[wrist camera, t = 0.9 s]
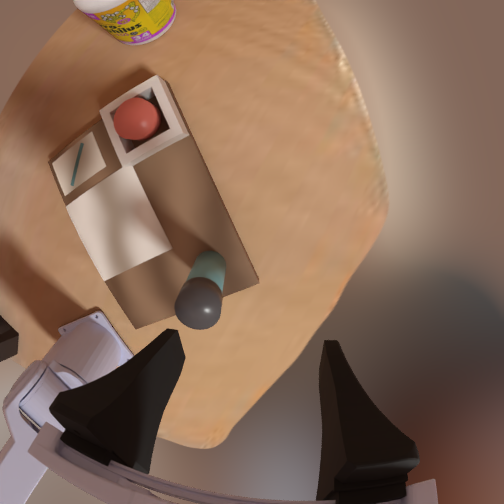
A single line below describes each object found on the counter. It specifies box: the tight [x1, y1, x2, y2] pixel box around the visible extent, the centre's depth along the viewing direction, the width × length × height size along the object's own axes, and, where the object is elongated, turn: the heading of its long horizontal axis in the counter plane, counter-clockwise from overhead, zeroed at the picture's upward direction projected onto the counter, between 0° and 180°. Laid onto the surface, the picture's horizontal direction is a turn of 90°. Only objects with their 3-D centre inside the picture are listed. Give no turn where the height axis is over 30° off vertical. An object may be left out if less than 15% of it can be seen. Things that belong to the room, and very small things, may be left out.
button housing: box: [99, 75, 189, 167], centre depth 20 cm, size 6×6×2 cm
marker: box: [174, 251, 226, 330], centre depth 22 cm, size 3×3×8 cm
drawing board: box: [48, 81, 259, 329], centre depth 24 cm, size 15×21×1 cm
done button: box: [114, 98, 161, 140], centre depth 19 cm, size 3×3×2 cm
